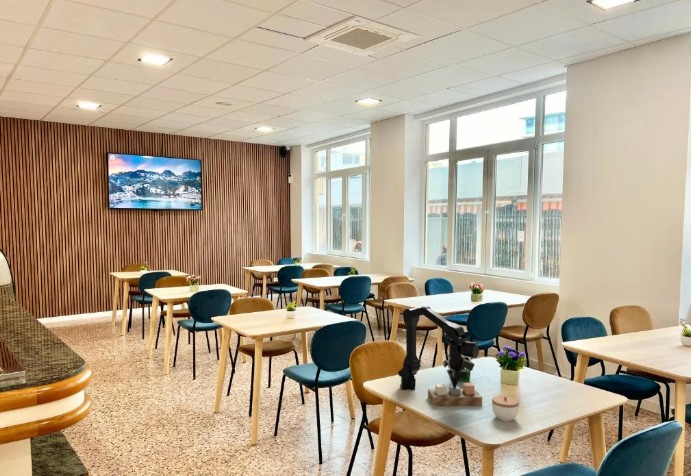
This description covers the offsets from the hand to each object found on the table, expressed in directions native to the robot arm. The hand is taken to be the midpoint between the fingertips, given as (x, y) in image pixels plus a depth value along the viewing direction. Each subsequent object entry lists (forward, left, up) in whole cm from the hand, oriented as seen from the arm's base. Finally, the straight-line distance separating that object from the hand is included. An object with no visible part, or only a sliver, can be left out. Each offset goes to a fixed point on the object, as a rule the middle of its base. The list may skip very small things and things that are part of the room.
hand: (454, 387), depth 222 cm
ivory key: (-6, 0, -3) cm, 7 cm away
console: (0, 0, -7) cm, 7 cm away
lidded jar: (+16, -19, -7) cm, 26 cm away
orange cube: (+7, 0, -3) cm, 7 cm away
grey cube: (0, 0, -4) cm, 4 cm away
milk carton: (+13, +31, -7) cm, 34 cm away
